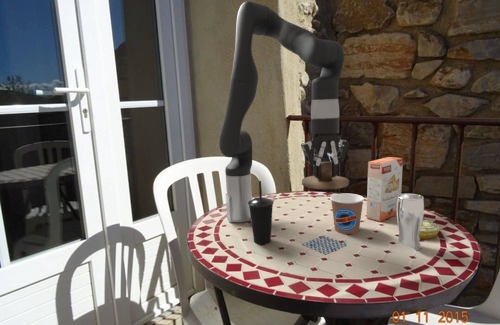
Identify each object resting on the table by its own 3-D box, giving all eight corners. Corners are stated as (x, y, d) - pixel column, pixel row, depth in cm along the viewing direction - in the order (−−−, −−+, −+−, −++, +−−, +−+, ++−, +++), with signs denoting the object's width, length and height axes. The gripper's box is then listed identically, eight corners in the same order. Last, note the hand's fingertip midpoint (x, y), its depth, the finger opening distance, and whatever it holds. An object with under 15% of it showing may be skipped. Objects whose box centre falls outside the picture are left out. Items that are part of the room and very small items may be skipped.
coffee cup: (327, 237, 106) (327, 201, 104) (332, 226, 115) (332, 192, 113) (362, 241, 102) (362, 203, 100) (364, 229, 111) (365, 194, 109)
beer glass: (425, 252, 93) (427, 200, 90) (398, 251, 94) (399, 199, 92) (418, 242, 99) (420, 193, 97) (393, 241, 101) (394, 193, 98)
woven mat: (298, 250, 99) (298, 243, 99) (322, 240, 105) (322, 234, 105) (325, 262, 91) (325, 255, 91) (350, 251, 97) (350, 244, 97)
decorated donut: (445, 233, 105) (445, 222, 105) (430, 243, 99) (431, 231, 98) (411, 225, 113) (411, 214, 113) (395, 234, 106) (396, 222, 106)
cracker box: (381, 222, 117) (382, 163, 113) (365, 218, 121) (366, 161, 118) (401, 213, 125) (403, 157, 121) (386, 209, 130) (387, 156, 126)
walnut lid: (313, 191, 88) (313, 168, 87) (295, 180, 101) (294, 161, 100) (358, 186, 91) (358, 164, 90) (334, 176, 104) (334, 157, 102)
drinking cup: (257, 252, 98) (254, 185, 94) (245, 243, 105) (242, 180, 101) (279, 246, 101) (277, 181, 98) (267, 238, 108) (264, 177, 105)
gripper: (341, 114, 98) (341, 172, 101) (295, 117, 94) (296, 177, 97) (355, 115, 90) (355, 177, 93) (306, 118, 87) (307, 182, 90)
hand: (325, 177), depth 95 cm, fingers closed on walnut lid, 4 cm apart
